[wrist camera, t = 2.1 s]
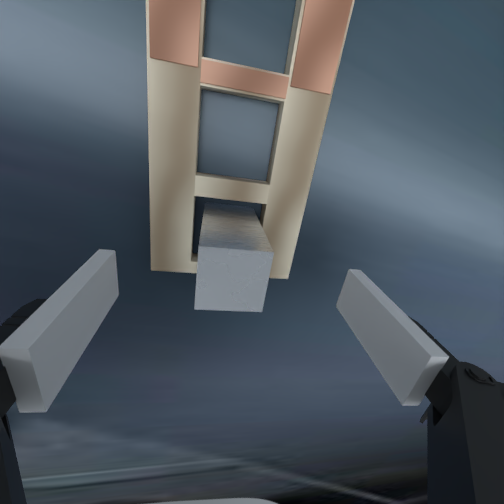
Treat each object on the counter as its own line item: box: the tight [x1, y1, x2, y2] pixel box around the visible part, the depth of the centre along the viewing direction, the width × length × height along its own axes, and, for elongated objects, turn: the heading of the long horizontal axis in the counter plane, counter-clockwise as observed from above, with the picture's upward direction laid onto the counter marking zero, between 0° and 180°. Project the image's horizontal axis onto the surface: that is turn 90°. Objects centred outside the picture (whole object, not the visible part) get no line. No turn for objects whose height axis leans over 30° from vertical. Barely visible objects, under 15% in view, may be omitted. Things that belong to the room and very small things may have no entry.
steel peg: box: [194, 202, 274, 312], centre depth 18 cm, size 4×4×9 cm
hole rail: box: [146, 0, 355, 279], centre depth 18 cm, size 12×22×2 cm, turn 171°
